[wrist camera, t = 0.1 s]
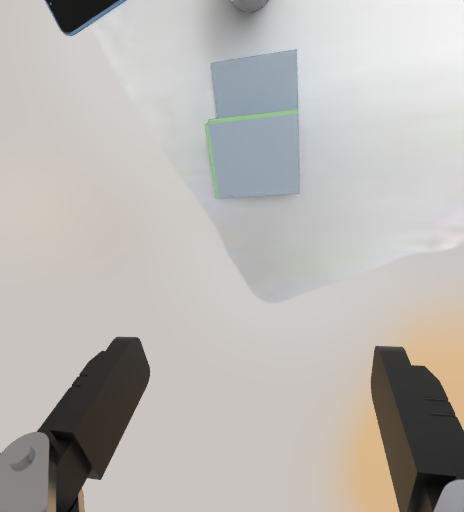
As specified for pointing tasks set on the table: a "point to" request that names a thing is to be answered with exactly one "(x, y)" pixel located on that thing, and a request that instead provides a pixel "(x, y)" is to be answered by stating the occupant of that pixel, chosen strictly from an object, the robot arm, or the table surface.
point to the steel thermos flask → (249, 4)
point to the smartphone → (79, 13)
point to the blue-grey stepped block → (255, 126)
